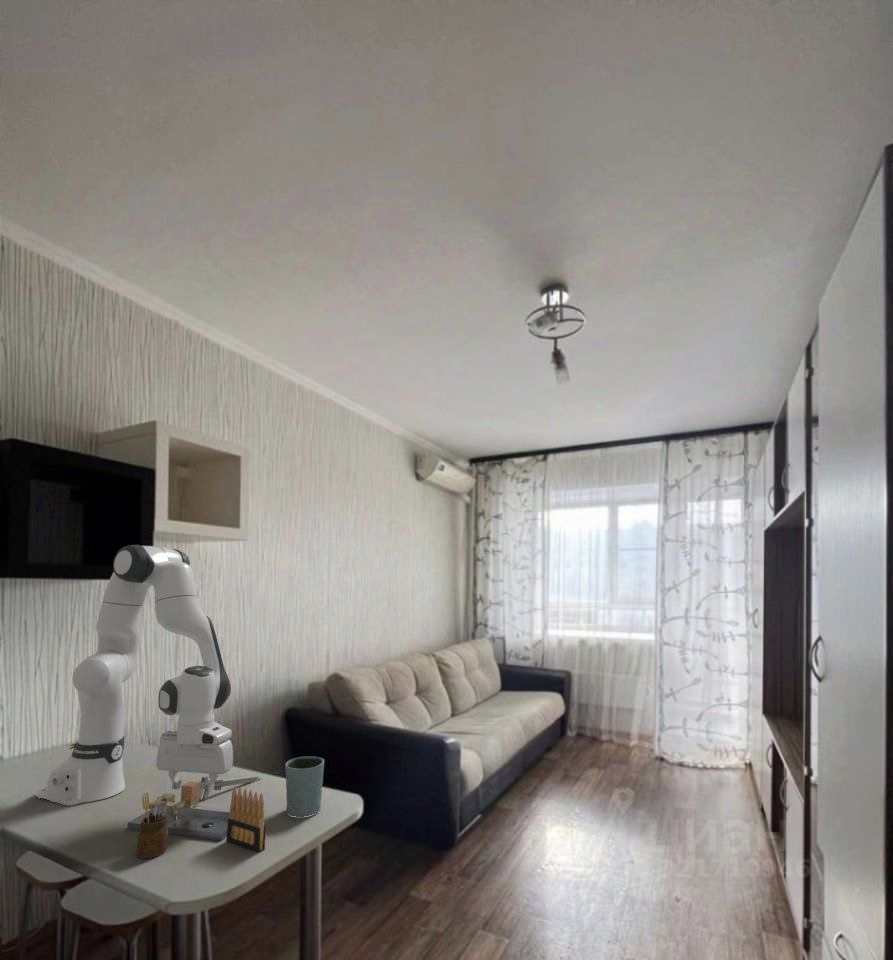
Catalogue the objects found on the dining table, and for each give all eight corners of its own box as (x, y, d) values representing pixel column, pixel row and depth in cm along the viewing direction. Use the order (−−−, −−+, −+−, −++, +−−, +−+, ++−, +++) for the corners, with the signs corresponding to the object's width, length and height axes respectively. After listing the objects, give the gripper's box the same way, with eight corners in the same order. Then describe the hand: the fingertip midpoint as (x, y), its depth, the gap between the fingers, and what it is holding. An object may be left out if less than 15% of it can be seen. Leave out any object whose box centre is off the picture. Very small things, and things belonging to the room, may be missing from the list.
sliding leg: (168, 819, 136) (170, 792, 137) (187, 807, 142) (189, 781, 143) (179, 820, 135) (181, 793, 136) (198, 808, 142) (199, 782, 143)
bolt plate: (127, 829, 135) (128, 807, 136) (156, 811, 145) (158, 791, 145) (221, 840, 129) (222, 817, 130) (246, 821, 139) (247, 800, 140)
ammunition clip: (265, 849, 125) (267, 792, 127) (258, 853, 124) (261, 795, 125) (232, 838, 130) (235, 783, 132) (225, 842, 129) (228, 786, 131)
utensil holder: (151, 861, 120) (155, 802, 122) (129, 856, 122) (133, 798, 124) (172, 848, 126) (176, 791, 127) (151, 844, 128) (155, 788, 130)
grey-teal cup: (299, 823, 138) (301, 771, 140) (274, 812, 144) (277, 763, 146) (331, 809, 146) (332, 760, 148) (306, 799, 152) (307, 753, 154)
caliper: (198, 803, 150) (199, 779, 151) (195, 803, 151) (197, 778, 152) (261, 780, 167) (262, 758, 168) (258, 779, 167) (259, 757, 168)
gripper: (152, 734, 143) (148, 791, 141) (222, 738, 139) (220, 797, 136) (169, 727, 149) (166, 782, 147) (237, 730, 145) (235, 787, 143)
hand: (192, 789), depth 142 cm, fingers open, 8 cm apart
